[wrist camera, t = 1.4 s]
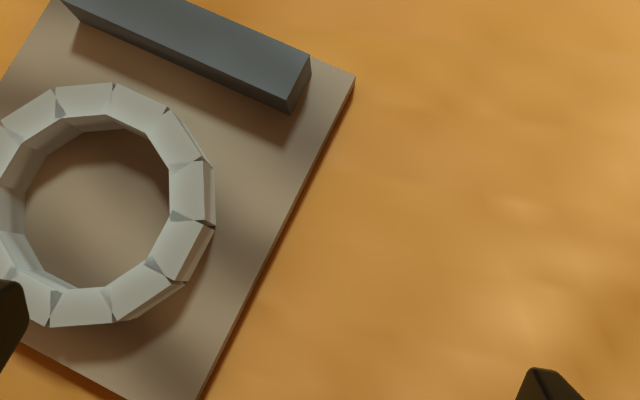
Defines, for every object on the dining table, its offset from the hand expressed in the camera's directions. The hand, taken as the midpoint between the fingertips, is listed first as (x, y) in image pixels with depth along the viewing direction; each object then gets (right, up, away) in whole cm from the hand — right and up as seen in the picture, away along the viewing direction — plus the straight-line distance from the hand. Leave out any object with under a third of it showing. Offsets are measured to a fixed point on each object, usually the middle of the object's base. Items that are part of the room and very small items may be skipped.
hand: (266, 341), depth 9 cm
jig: (-8, +4, +16) cm, 18 cm away
